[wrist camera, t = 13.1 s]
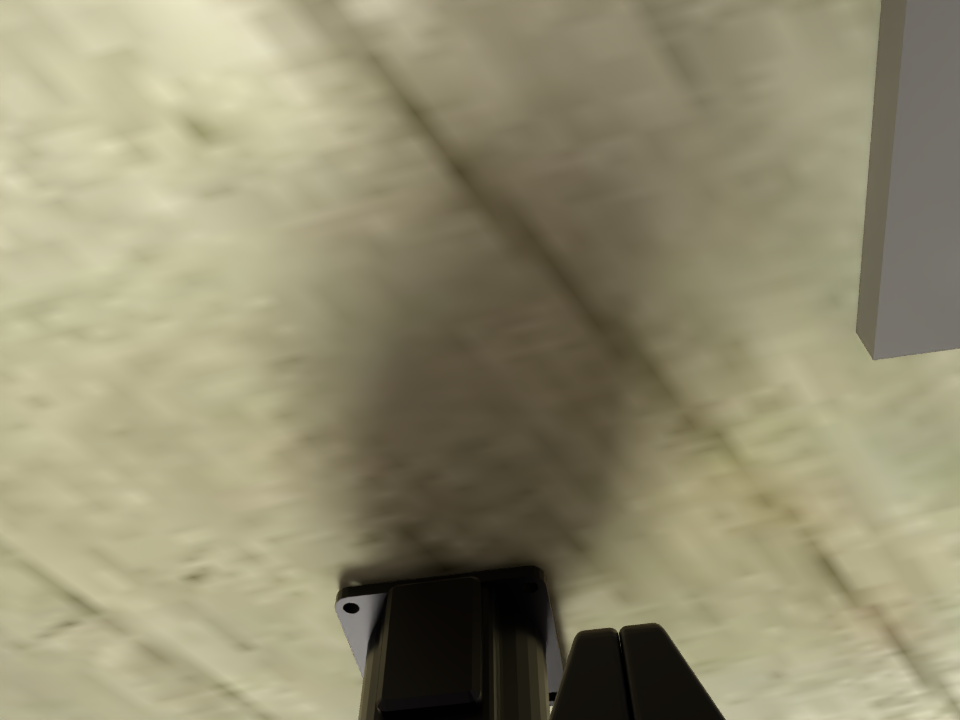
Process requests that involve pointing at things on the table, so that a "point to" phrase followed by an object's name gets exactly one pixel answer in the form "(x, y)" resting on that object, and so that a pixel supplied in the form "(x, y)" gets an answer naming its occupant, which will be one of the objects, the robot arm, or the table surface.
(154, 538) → the table surface
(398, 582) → the robot arm
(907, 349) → the rail
